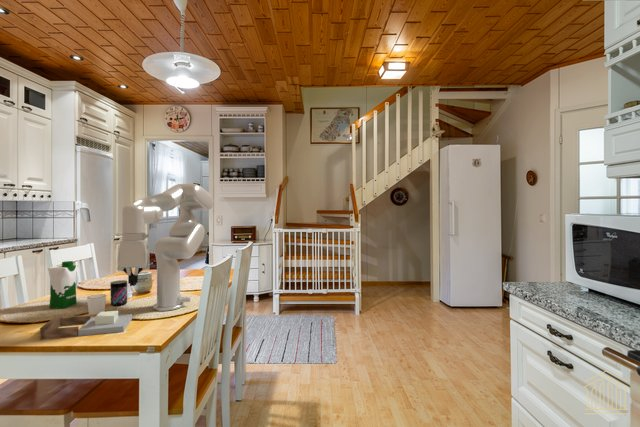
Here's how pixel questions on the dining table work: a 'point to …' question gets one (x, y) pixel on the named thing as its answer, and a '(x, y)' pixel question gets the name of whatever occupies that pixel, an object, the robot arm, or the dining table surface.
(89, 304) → the white cup
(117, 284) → the supplement container
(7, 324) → the dining table surface
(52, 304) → the milk carton
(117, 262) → the robot arm
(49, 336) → the box
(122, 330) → the plate
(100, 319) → the off-white flat block
